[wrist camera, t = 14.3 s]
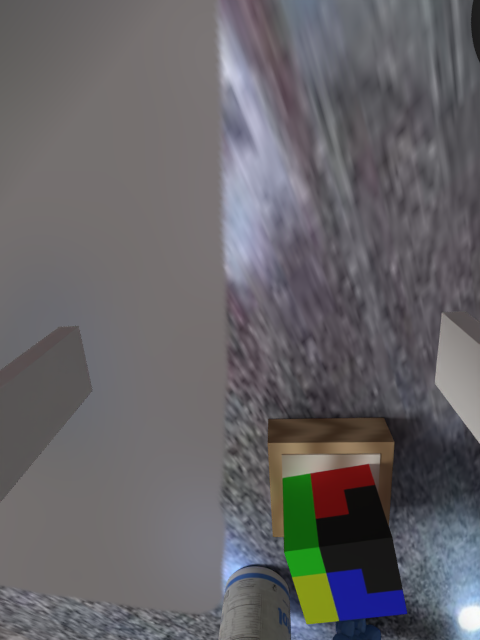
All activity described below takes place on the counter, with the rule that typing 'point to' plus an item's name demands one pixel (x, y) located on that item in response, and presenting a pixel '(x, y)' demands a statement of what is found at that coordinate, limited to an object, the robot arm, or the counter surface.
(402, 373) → the counter surface
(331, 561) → the puzzle toy
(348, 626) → the grapes
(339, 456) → the oak picture frame
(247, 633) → the supplement tub
